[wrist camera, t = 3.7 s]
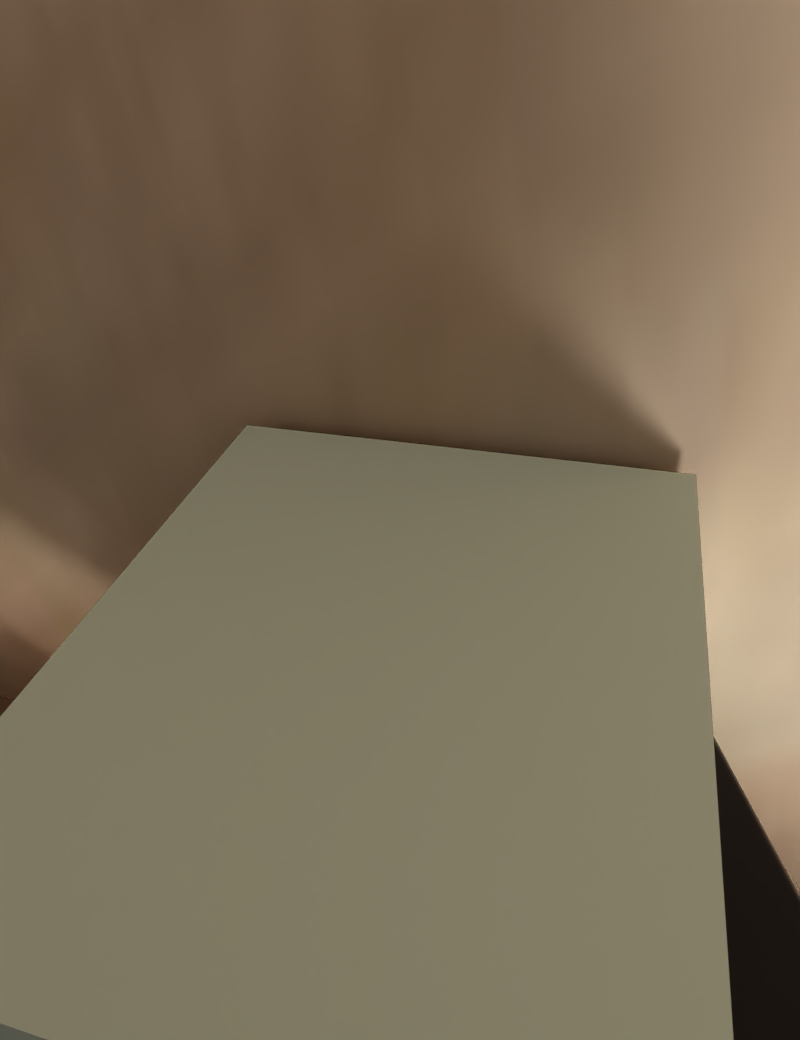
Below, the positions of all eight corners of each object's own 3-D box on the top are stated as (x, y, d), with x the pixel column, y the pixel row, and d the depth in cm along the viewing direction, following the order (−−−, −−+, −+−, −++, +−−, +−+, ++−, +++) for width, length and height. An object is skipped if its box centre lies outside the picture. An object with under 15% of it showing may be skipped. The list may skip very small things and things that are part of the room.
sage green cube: (696, 474, 8) (751, 1284, 3) (624, 765, 11) (600, 1387, 6) (246, 424, 9) (-200, 953, 4) (298, 699, 12) (72, 1179, 7)
